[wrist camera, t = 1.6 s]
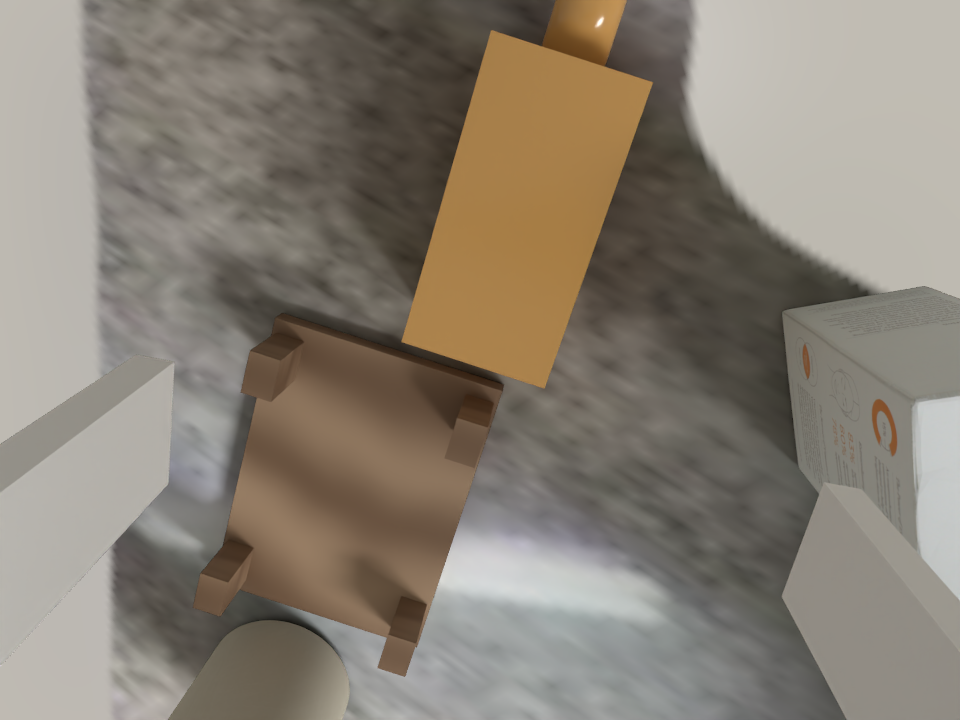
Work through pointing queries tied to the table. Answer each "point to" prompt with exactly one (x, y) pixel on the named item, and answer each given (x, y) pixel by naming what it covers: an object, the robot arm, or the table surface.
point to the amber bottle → (527, 194)
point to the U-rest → (350, 482)
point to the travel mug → (268, 677)
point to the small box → (884, 410)
